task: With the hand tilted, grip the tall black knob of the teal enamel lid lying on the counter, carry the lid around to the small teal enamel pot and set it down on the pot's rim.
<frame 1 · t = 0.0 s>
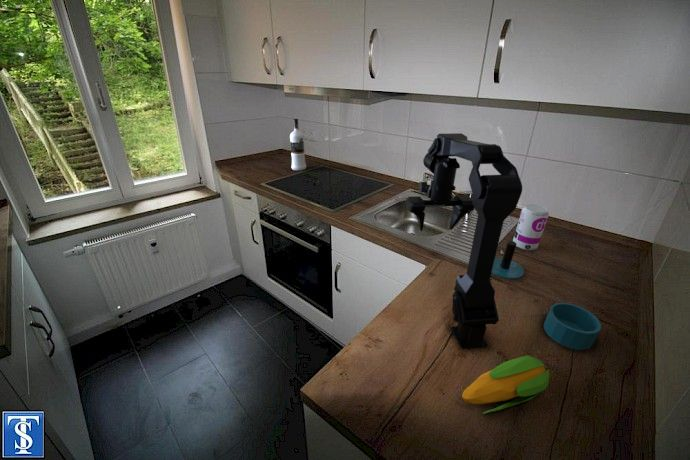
hand: (435, 229, 94), 15 cm above the worktop, tool pointing down, fingers open, 9 cm apart
pot: (567, 333, 77), on the worktop
vodka: (299, 169, 197), on the worktop
corn: (501, 396, 63), on the worktop
lid: (504, 268, 101), point 1 cm above the worktop
supplement can: (524, 246, 115), on the worktop
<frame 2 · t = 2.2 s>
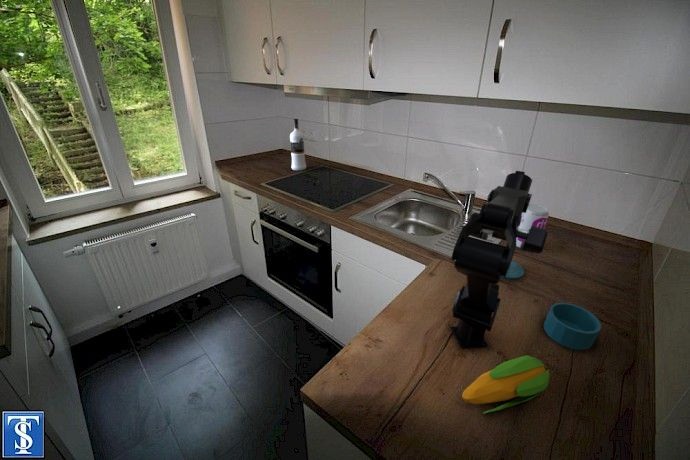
hand: (503, 243, 90), 13 cm above the worktop, tool tilted 40°, fingers open, 9 cm apart
nothing on the worktop moved.
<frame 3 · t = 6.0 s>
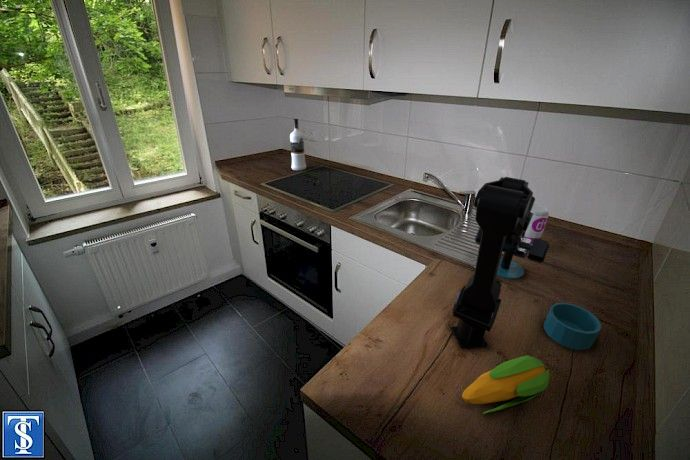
hand: (510, 251, 99), 7 cm above the worktop, tool tilted 45°, fingers closed on lid, 2 cm apart
lid: (504, 268, 101), point 1 cm above the worktop, touching gripper
everything else where it was.
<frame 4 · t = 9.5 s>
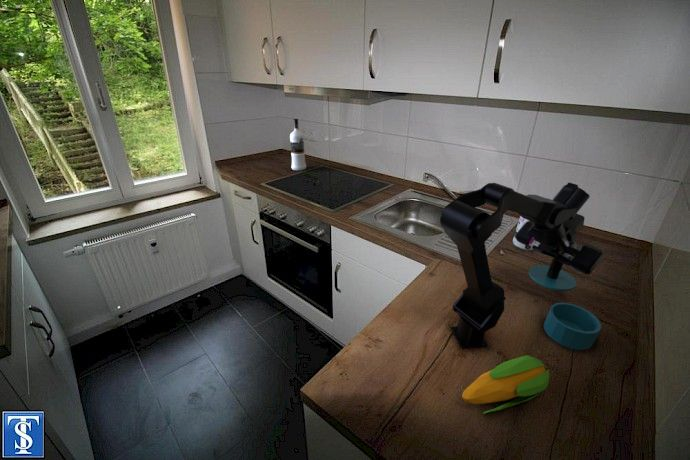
hand: (561, 258, 85), 12 cm above the worktop, tool tilted 45°, fingers closed on lid, 2 cm apart
lid: (551, 278, 87), point 6 cm above the worktop, touching gripper
everything else where it was.
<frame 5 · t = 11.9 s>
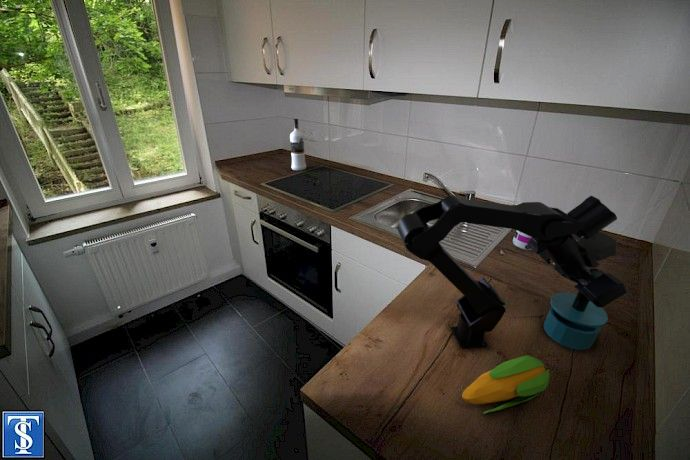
hand: (592, 289, 71), 13 cm above the worktop, tool tilted 45°, fingers closed on lid, 3 cm apart
lid: (577, 309, 74), point 7 cm above the worktop, touching gripper
everything else where it was.
when the fingers open (11 cm above the worktop, at t = 13.2 s): lid stays where it is, resting on pot.
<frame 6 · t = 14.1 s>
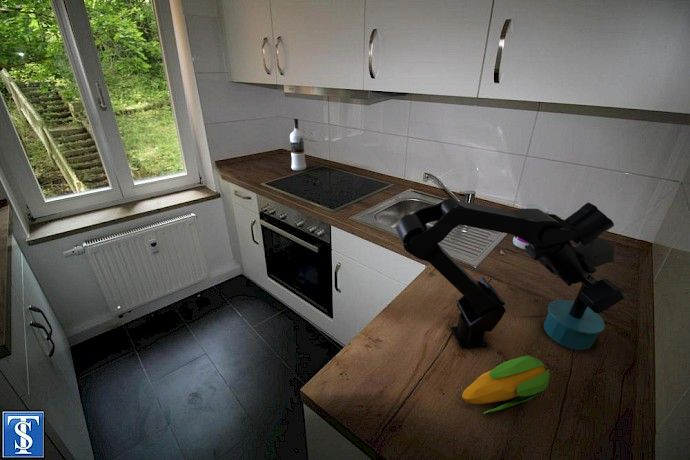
hand: (591, 294, 72), 12 cm above the worktop, tool tilted 45°, fingers open, 9 cm apart
lid: (574, 317, 75), point 5 cm above the worktop, touching pot
everything else where it was.
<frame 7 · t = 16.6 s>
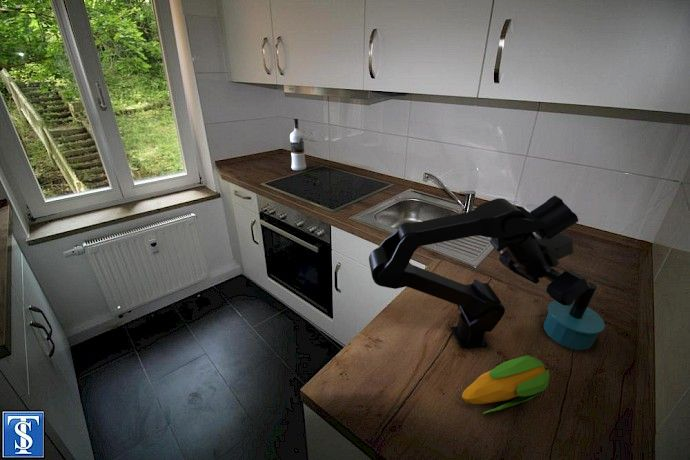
hand: (553, 292, 71), 13 cm above the worktop, tool tilted 40°, fingers open, 9 cm apart
nothing on the worktop moved.
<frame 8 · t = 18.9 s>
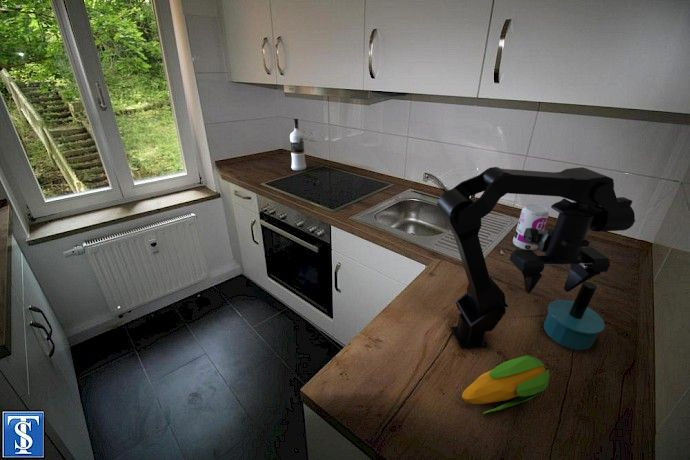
hand: (546, 291, 71), 13 cm above the worktop, tool pointing down, fingers open, 9 cm apart
nothing on the worktop moved.
at the end: lid 0.0 cm off-centre on the pot, point 5.4 cm above the pot's base; lid tilted 0°; the gripper is holding nothing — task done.
